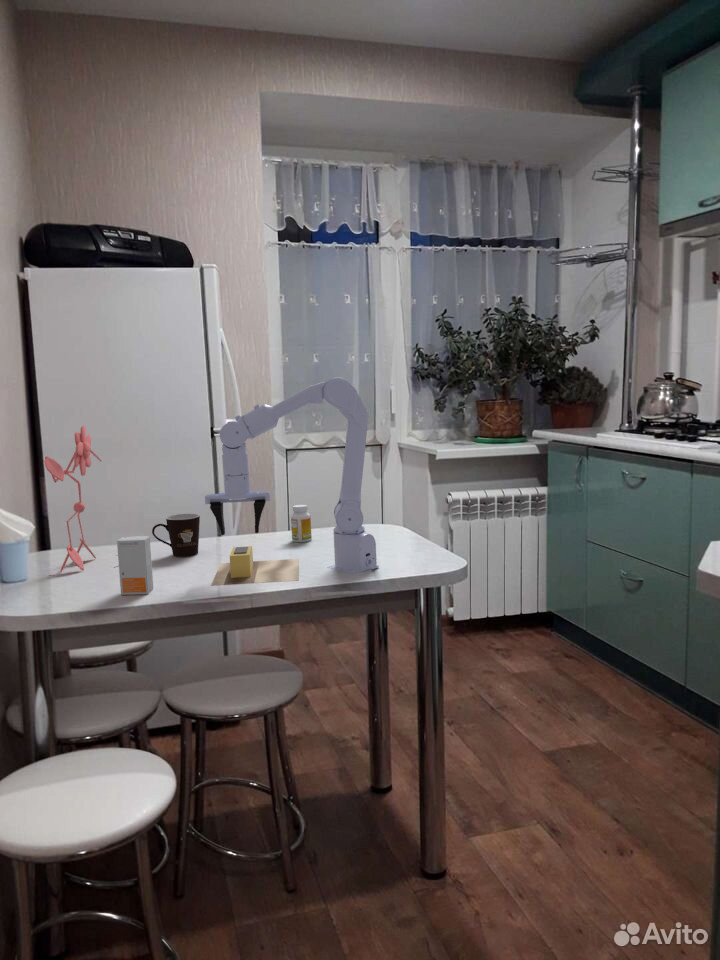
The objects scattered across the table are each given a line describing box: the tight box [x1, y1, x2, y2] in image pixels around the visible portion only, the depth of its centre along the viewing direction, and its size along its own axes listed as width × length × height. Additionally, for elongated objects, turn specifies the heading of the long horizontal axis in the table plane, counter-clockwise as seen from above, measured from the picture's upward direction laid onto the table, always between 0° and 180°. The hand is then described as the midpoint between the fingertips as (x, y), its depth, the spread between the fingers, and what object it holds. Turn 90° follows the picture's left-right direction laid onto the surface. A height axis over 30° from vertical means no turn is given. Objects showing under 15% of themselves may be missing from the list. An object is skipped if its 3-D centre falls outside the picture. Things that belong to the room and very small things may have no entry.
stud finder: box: [229, 545, 254, 578], centre depth 174 cm, size 4×9×5 cm, turn 4°
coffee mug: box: [151, 513, 201, 558], centre depth 197 cm, size 12×9×10 cm
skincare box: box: [116, 535, 154, 596], centre depth 162 cm, size 6×4×12 cm
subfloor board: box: [210, 558, 300, 586], centre depth 174 cm, size 19×20×1 cm
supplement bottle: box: [290, 504, 312, 543], centre depth 208 cm, size 5×5×10 cm
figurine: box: [44, 425, 119, 577], centre depth 187 cm, size 15×26×35 cm, turn 2°
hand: (240, 533), depth 173 cm, fingers open, 7 cm apart
